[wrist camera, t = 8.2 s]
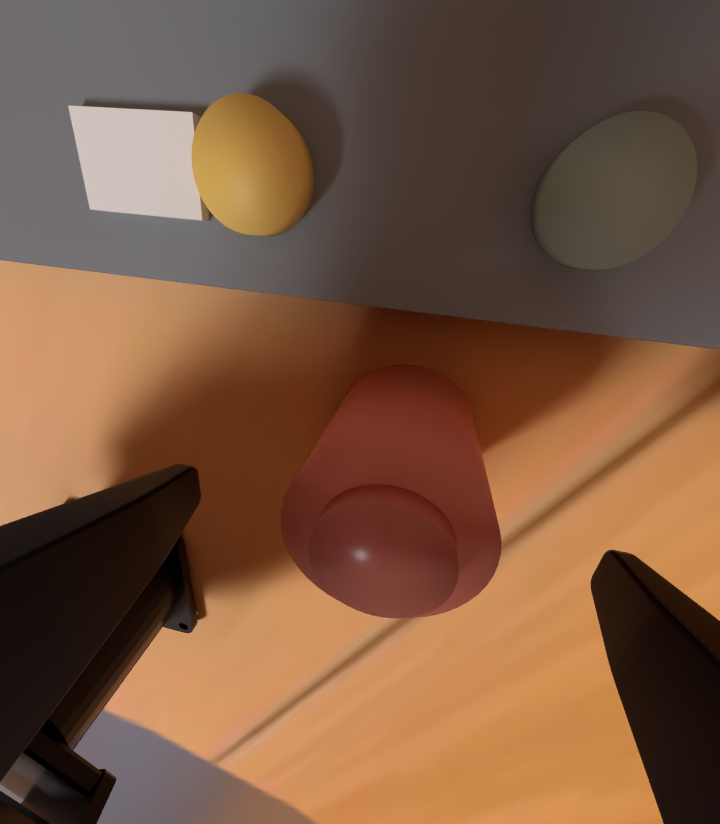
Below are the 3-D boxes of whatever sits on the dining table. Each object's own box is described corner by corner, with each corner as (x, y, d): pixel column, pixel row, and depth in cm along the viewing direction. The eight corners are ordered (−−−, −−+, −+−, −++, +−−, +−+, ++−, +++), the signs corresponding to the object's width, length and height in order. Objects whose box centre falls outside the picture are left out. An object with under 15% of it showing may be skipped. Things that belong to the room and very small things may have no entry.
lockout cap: (458, 495, 12) (475, 666, 7) (334, 472, 13) (271, 615, 8) (488, 376, 10) (541, 494, 5) (343, 355, 11) (265, 443, 6)
